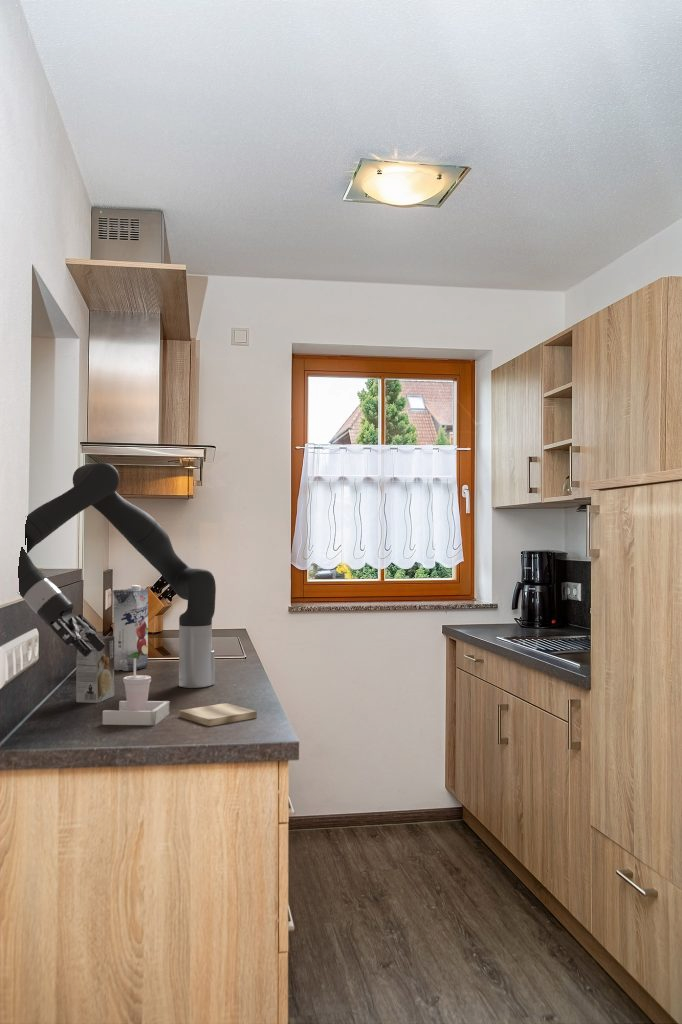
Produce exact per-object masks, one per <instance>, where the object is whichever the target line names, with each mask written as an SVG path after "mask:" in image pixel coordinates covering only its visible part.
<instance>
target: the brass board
mask: <svg viewBox="0 0 682 1024" xmlns="http://www.w3.org/2000/svg"><path fill="white" fill-rule="evenodd" d="M257 714H258V712H257V710H253V709H250V708H246V707H242V706H238V705H234V704H232V703H227V702H225V703H217V704H213V705H212V704H211V705H205V706H200V707H199V706H198V707H192V708H187V709H180V710H179V711H178V717H179V718H181V719H185V720H186V721H187V720H188V721H191V722H195V723H198V724H199V725H200V724H201V725H204V726H206V727H213V726H218V725H223V724H230V723H235V722H241V721H245V720H246V721H247V720H251V719H257V718H258V716H257Z"/></svg>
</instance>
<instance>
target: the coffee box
mask: <svg viewBox="0 0 682 1024" xmlns="http://www.w3.org/2000/svg"><path fill="white" fill-rule="evenodd" d="M97 636H98V637H99V638H100V639H101V641H102V642H103V643H104V644H105V645H106V646H105V648H104V649H103V650H102V651H100V652H98V651H97V650H96V649H95V648H94V647H93V646H92V645H91V644H90V643H89V642H88V640H86V639H84V638H83V637H82V638H81V639H83V640H84V641H85V643H86V644H87V645H88V646H89V647H90V648H91V649H92V652H91V653H90V654H89V655H88V656H86V657H84V656H83V655H82V654H81V653H80V652H79V651H78V650H77V648H76V647H75V651H76V652H75V656H76V657H75V658H76V659H75V660H76V663H75V664H76V665H75V667H76V669H75V670H76V671H75V672H76V673H75V677H76V680H75V681H76V685H75V686H76V687H75V688H76V693H75V694H76V696H75V698H76V700H75V702H76V703H89V704H90V703H91V704H99V703H101V702H103V701H106V700H109V699H111V698H113V697H115V670H114V636H113V635H111V636H109V635H108V636H107V635H97ZM81 639H80V640H81Z"/></svg>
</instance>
